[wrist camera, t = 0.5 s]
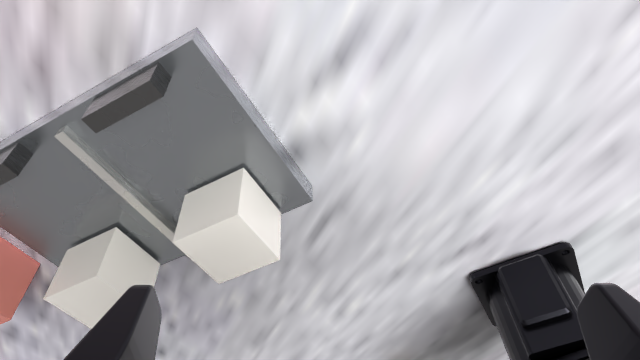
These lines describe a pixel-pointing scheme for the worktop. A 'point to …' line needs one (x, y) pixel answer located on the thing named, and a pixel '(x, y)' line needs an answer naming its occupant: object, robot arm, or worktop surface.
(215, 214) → the white square block
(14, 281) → the cap
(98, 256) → the matte white cube
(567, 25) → the worktop surface
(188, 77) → the strip
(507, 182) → the worktop surface
